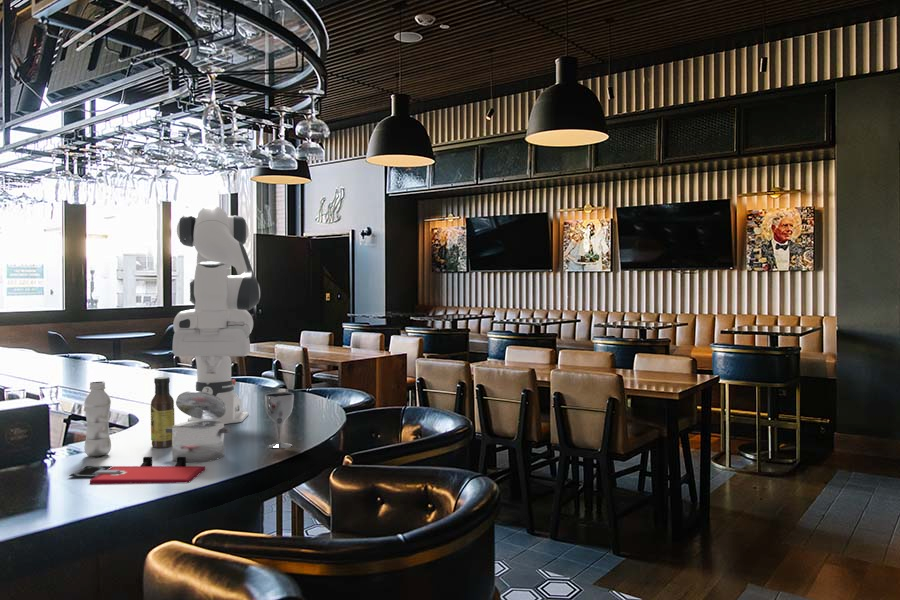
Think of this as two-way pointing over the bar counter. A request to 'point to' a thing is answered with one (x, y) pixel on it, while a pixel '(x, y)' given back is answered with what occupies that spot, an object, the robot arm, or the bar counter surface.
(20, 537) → the bar counter surface
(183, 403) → the lid
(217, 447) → the pot
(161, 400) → the sauce bottle
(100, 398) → the plastic bottle
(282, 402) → the wine glass
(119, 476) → the red board with handle
